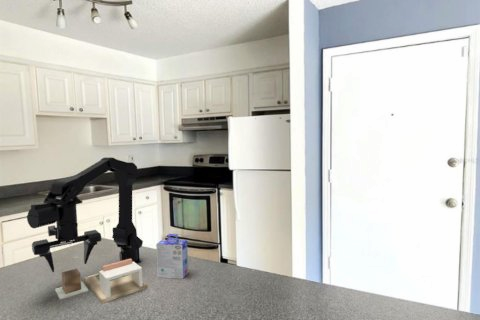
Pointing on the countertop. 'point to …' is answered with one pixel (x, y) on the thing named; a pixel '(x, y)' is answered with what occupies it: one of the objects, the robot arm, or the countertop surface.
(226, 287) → the countertop surface
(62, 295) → the coaster pad
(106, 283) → the panel
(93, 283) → the puzzle board
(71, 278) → the walnut block
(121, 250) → the robot arm
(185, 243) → the ink cartridge box
